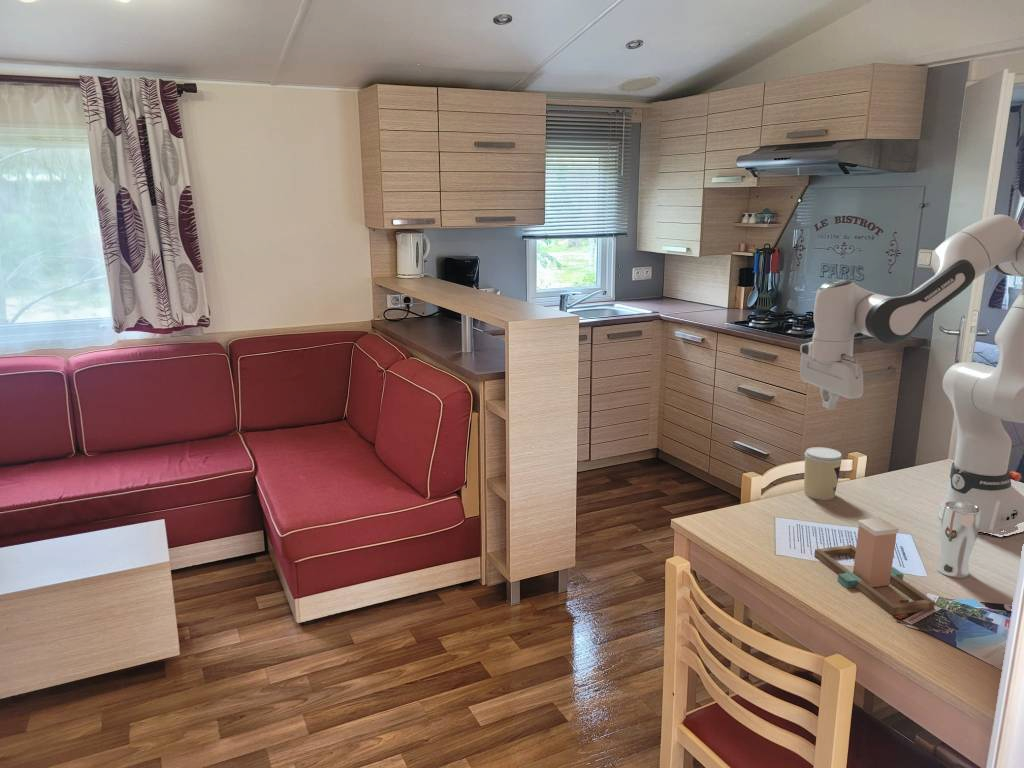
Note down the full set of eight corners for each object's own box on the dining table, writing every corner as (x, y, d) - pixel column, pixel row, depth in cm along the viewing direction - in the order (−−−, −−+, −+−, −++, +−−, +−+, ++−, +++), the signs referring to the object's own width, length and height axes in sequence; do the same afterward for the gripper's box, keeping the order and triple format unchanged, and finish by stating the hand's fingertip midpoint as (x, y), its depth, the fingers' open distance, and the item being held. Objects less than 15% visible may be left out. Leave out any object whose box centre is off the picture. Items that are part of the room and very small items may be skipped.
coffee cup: (841, 502, 197) (846, 459, 194) (804, 499, 199) (808, 457, 196) (833, 489, 206) (838, 447, 203) (798, 486, 207) (802, 445, 204)
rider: (873, 572, 160) (880, 517, 157) (890, 585, 155) (898, 528, 152) (851, 575, 159) (858, 520, 156) (868, 588, 154) (875, 531, 151)
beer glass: (970, 582, 156) (981, 516, 153) (932, 573, 160) (942, 509, 156) (971, 568, 162) (982, 504, 158) (934, 560, 166) (944, 497, 162)
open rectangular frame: (858, 550, 170) (859, 544, 170) (942, 608, 147) (943, 600, 146) (806, 556, 168) (807, 550, 167) (883, 616, 144) (884, 609, 144)
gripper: (873, 357, 164) (869, 418, 167) (819, 342, 184) (817, 397, 187) (846, 360, 163) (843, 420, 166) (796, 344, 183) (793, 399, 186)
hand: (829, 408), depth 177 cm, fingers closed
